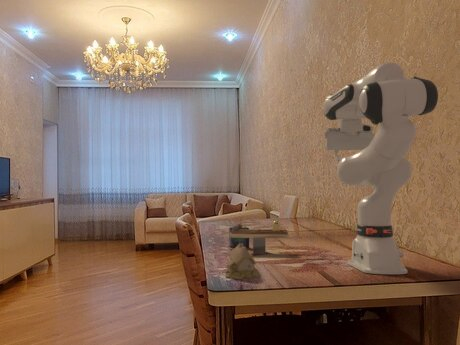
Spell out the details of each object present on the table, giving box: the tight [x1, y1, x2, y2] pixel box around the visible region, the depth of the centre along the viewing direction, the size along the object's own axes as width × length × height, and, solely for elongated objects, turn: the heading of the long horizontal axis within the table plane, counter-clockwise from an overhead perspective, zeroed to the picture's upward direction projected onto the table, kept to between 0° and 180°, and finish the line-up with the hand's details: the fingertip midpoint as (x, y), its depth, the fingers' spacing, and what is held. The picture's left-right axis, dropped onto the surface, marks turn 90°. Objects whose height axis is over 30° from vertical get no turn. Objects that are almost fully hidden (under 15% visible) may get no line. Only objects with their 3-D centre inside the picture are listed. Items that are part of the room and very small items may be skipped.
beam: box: [230, 225, 290, 255], centre depth 168 cm, size 6×24×11 cm, turn 86°
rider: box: [271, 220, 281, 231], centre depth 168 cm, size 3×3×5 cm
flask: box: [228, 222, 250, 249], centre depth 182 cm, size 9×3×11 cm, turn 73°
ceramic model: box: [225, 243, 260, 280], centre depth 130 cm, size 14×11×10 cm
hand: (350, 160), depth 170 cm, fingers open, 8 cm apart
